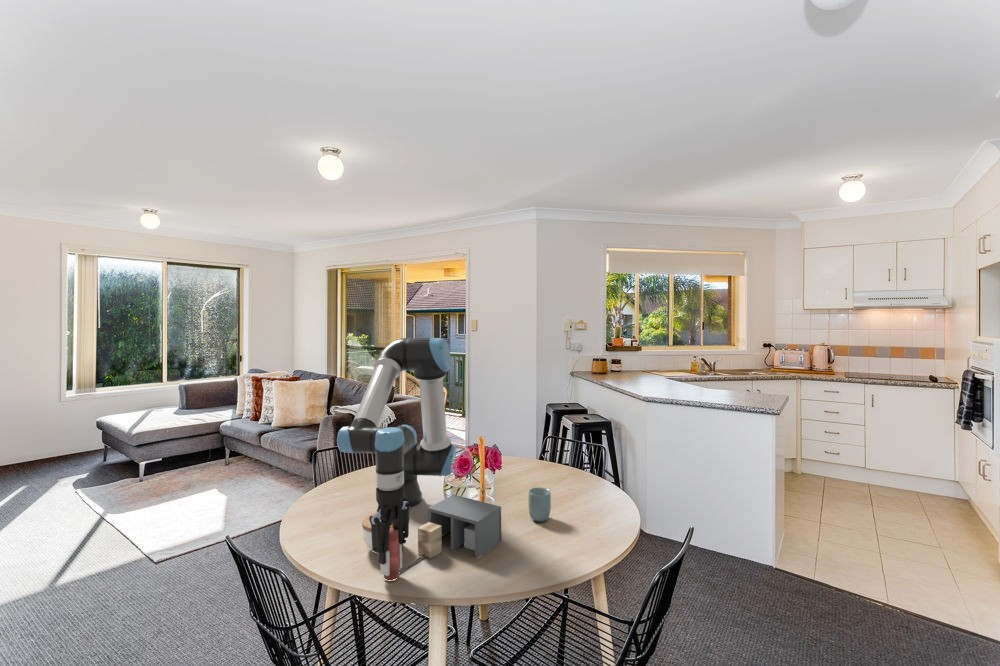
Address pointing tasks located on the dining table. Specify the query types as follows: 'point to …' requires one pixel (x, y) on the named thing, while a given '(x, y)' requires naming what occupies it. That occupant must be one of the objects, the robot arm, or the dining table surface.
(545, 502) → the cup
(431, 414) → the robot arm
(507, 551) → the dining table surface
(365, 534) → the white lidded jar
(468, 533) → the block
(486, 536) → the cubby
